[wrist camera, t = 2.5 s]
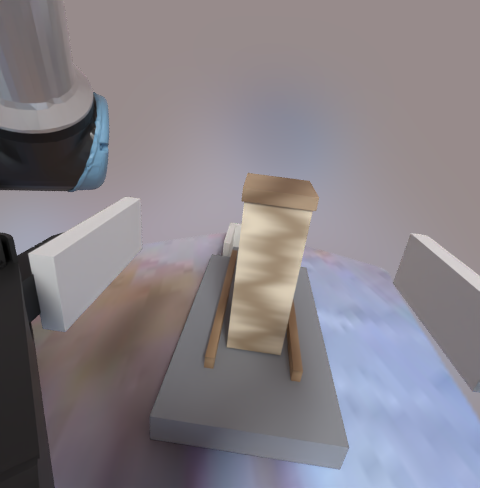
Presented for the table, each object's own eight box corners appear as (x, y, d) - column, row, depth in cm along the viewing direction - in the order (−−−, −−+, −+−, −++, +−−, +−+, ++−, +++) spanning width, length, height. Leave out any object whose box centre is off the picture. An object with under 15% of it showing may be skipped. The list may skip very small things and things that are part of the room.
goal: (220, 269, 46) (223, 243, 44) (228, 245, 54) (230, 222, 53) (292, 279, 46) (298, 253, 44) (289, 253, 54) (293, 231, 52)
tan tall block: (224, 348, 28) (243, 187, 22) (233, 297, 35) (249, 167, 29) (282, 357, 28) (318, 197, 21) (279, 304, 35) (306, 174, 29)
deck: (150, 439, 22) (149, 416, 21) (210, 269, 46) (212, 254, 45) (340, 469, 22) (349, 447, 21) (302, 282, 46) (306, 267, 45)
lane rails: (203, 367, 26) (204, 356, 25) (231, 257, 45) (232, 249, 44) (300, 382, 26) (302, 371, 25) (286, 264, 45) (288, 257, 44)
